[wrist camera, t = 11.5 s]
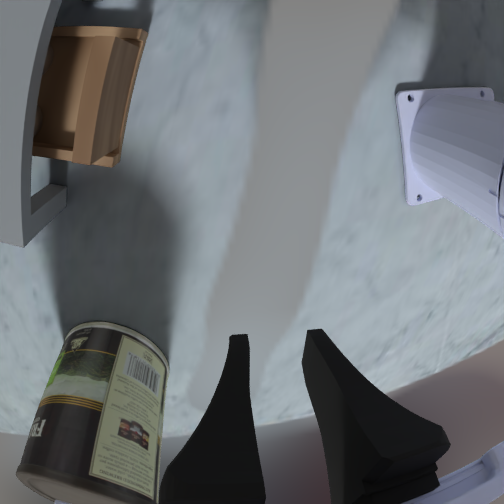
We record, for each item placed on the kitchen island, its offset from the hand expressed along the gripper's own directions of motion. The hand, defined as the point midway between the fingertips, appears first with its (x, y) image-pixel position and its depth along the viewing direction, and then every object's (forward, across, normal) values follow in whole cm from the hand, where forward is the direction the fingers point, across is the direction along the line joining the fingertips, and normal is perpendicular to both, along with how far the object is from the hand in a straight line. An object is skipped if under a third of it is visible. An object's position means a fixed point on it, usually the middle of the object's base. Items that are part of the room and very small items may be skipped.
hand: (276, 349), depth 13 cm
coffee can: (+10, +12, +12) cm, 20 cm away
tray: (+10, +12, -11) cm, 19 cm away
